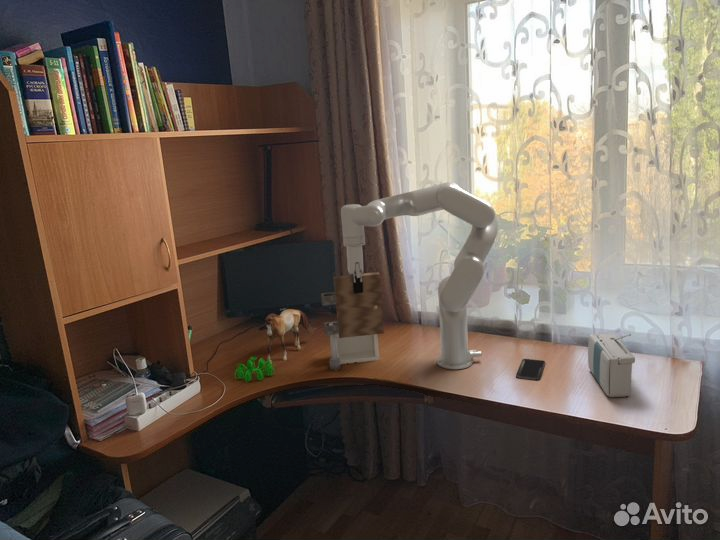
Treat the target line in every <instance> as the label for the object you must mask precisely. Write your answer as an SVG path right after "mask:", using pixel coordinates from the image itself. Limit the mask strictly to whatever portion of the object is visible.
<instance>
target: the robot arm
mask: <svg viewBox="0 0 720 540" xmlns="http://www.w3.org/2000/svg"><path fill="white" fill-rule="evenodd" d="M443 210H444V211H445V212H448V213H449V214H451V215H452V216H454V217H456V218H458V219H459V220H462V221H463V222H465V223H467V224H469V225H471V230H470V233H469V235H468V237H467V239H466V240H465V242H464V244H463V246H462V248H461V249H460V251H459V253H458V254H457V256H456V257H455V259H454V262H453V267H454V269H453V271H452V272H451V273H450V275H449V276H446V277H444V278H443V279H441V281H440V283H439V284H438V288H437V296H438V309H439V311H438V312H439V336H440V337H439V339H440V340H439V342H440V356H438V357H437V358H436V363H437V365H438V366H439V367H440V368H443V369H447V370H462V369H463V370H464V369H467V368H469V367H470V366H472V364H473V363H474V358H478V357H479V358H480V357H482V351H481V350H476V349H471V350H470V349H469V344H468V343H469V341H468V339H469V338H468V307H467V306H468V304H469V302H470V300H471V299H472V297H473V295H474V294H475V292H476V290H477V289H478V286H479V285H480V283H481V282H482V279H483V277H484V273H485V265H484V262H485V260H486V258H487V256H488V255H489V252H490V251H491V249H492V247H493V245H494V243H495V240H496V239H497V236H498V235H497V234H498V230H499V226H498V225H499V224H498V217H497V214H496V211H495V208H494V207H493V205H492V204H491V203H490V202H489V200H488V199H486V198H484V197H477V196H475V195H473V194H471V193H469V192H468V191H466V190H464V189H463V188H461V187H460V185H458V184H457V183H456V182H452V181H449V182H447V181H446V182H444V183H443V182H442V183H439V184H436V185H432V186H428V187H425V188H424V187H423V188H419V189H416V190H412V191H407V192H403V193H399V194H396V195H391V196H387V197H383V198H382V197H381V198H379V199H375V200H372V201H371V202H369V203H367V205H361V204H358V203H356V204H354V203H352V204H345V205H342V207H341V208H340V216H341V217H340V218H341V226H342V228H341V229H342V230H341V231H342V240H343V242H342V243H343V247H346V261H347V263H346V264H347V266H346V267H347V271H348V275H353V277H354V282H353V287H354V293H355V294H356V293H363V283H362V276H361V274H364V254H363V253H364V250H363V246H365V245H366V235H365V227H378V226H380V225H382V223H384V221H385V220H388V219H392V218H396V217H401V216H408V217H409V216H410V217H418V216H422V215H423V216H424V215H428V214H430V213H435V212H438V211H439V212H440V211H443Z"/></svg>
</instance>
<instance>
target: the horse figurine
mask: <svg viewBox="0 0 720 540" xmlns="http://www.w3.org/2000/svg"><path fill="white" fill-rule="evenodd" d="M264 321H265V324H264V326H265V328H266V329H267V330H266V335H267V337H268V338H267V361H272V360H271V348H272V345H273V343H274V340H275V339H277V338H278V339H279V341H280V342H281V347H282V350H283V357H282V361H284V362H285V361H287V360H288V358H287V351H286V344H285V339H284V336H285V334H286V333H287V332H289V331H291V332H292V333H293V335H294V339H295V341H294V347H296V350H297V352H298V351H301V348H302V347H301V346H300V334H301V332H300V330H299V324H301V326H302V327H303V328H305V330H306V331H307V332H308V333H309V334H312V335H314V333H315V332H316V330H317V327H314V326H312V325H311V324H310V323H309V319H308V316H307V315H306V313H304V312H303V311H302V310H299V309H293V308H288V309H283V311H281V312H280V314H279V315H278V314H275V313H274V312H273V313H269V314H268V315H267V317H266V318H264ZM270 363H271V364H272V365H273V361H272V362H270Z"/></svg>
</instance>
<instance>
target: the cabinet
mask: <svg viewBox="0 0 720 540" xmlns="http://www.w3.org/2000/svg"><path fill="white" fill-rule="evenodd" d="M333 325H334V323H330V324H329V326H333ZM378 337H379V336H378V334H374V335H364V336H355V337H346V338H339V334H333V335H329V341H330V342H329V343H330V351H331V357H330V358H329V359H328V360H329V369H330V371H339V370H340V369H341V365H346V364H347V363H348V364H354V362H357V363H366V362H374V361H380V354H379V353H380V352H379V338H378ZM338 369H339V370H338Z"/></svg>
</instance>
